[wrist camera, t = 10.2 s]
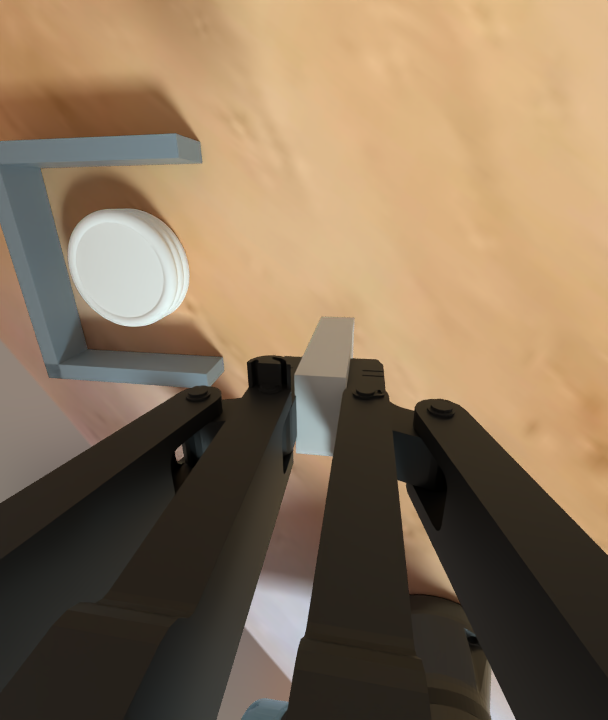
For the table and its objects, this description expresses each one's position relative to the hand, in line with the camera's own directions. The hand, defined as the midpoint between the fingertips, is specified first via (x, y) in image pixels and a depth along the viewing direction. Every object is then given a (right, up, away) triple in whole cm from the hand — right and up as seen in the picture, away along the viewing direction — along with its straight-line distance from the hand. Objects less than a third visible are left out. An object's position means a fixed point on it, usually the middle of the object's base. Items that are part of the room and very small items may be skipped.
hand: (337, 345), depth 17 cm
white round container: (-17, +8, +18) cm, 26 cm away
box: (-17, +8, +17) cm, 26 cm away
